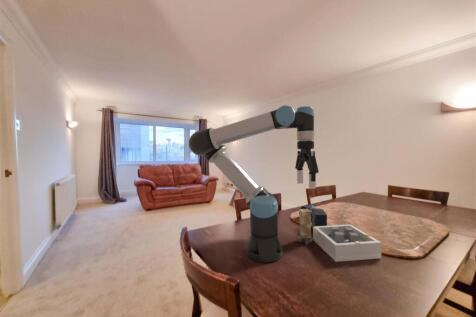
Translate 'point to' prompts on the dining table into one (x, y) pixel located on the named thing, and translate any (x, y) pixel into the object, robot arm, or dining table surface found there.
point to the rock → (308, 208)
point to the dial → (344, 235)
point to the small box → (319, 218)
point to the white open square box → (347, 244)
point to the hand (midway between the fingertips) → (305, 185)
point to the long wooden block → (305, 226)
